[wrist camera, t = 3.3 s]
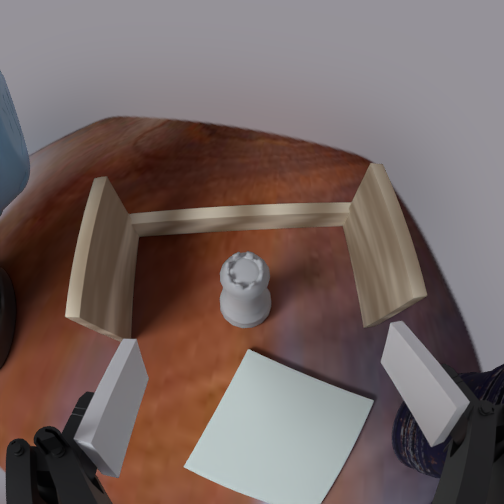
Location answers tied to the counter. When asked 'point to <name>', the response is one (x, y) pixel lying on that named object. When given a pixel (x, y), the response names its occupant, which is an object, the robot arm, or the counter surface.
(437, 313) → the counter surface
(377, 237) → the stall
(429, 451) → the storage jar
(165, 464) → the counter surface
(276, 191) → the counter surface
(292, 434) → the tile
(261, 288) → the rook chess piece
